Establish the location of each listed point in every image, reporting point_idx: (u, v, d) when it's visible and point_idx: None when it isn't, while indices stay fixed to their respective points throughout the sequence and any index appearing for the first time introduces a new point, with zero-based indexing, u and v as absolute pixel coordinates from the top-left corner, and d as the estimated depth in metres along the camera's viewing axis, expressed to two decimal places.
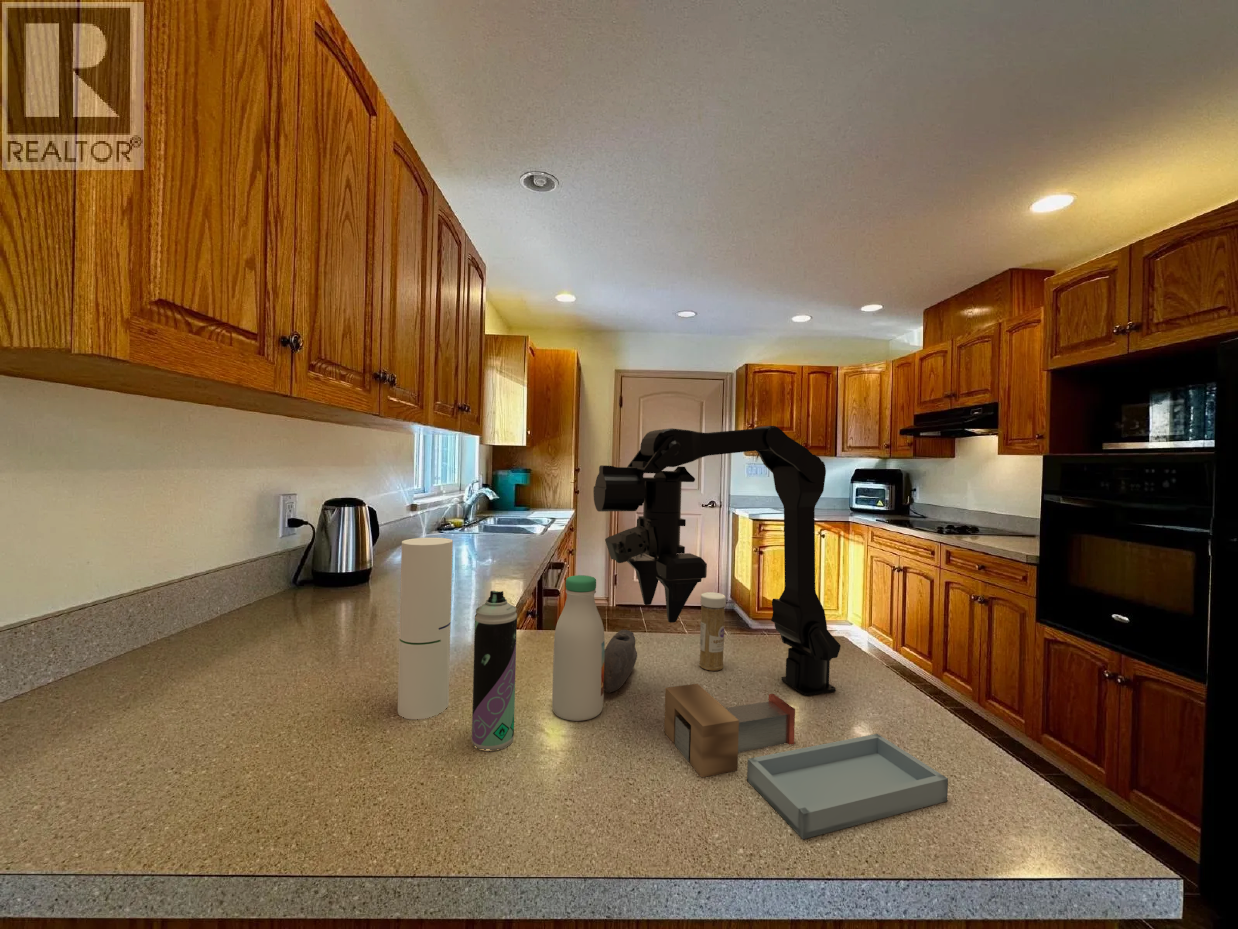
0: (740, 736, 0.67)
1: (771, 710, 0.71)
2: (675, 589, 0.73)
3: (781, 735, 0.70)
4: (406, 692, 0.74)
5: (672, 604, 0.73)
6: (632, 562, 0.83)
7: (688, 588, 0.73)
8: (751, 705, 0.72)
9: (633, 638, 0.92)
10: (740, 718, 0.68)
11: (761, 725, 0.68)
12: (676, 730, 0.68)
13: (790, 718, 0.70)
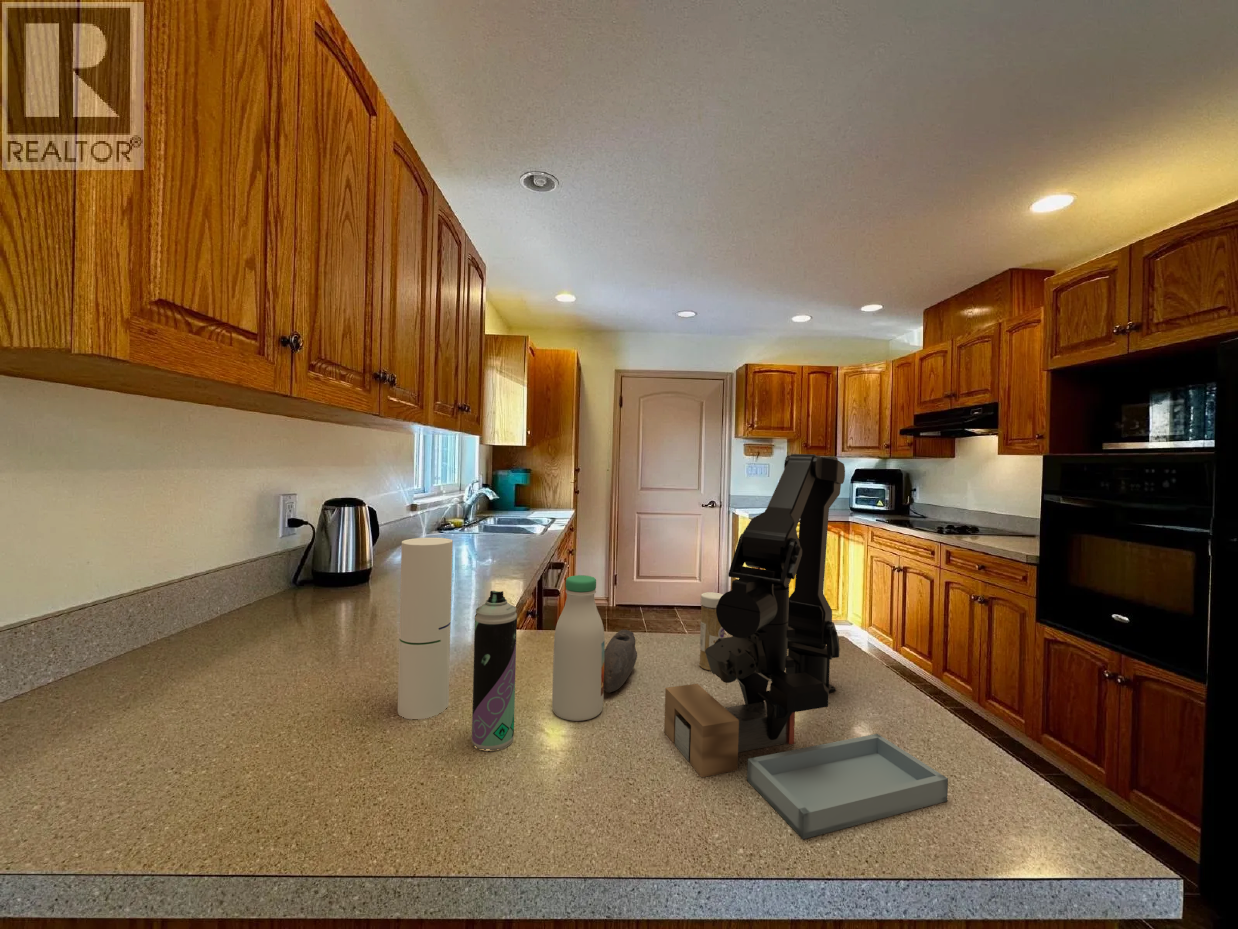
0: (740, 736, 0.67)
1: None
2: (778, 705, 0.68)
3: (781, 734, 0.70)
4: (406, 692, 0.74)
5: (774, 721, 0.68)
6: None
7: None
8: (751, 704, 0.72)
9: (633, 638, 0.92)
10: (741, 717, 0.68)
11: (761, 725, 0.68)
12: (676, 729, 0.68)
13: (790, 717, 0.70)
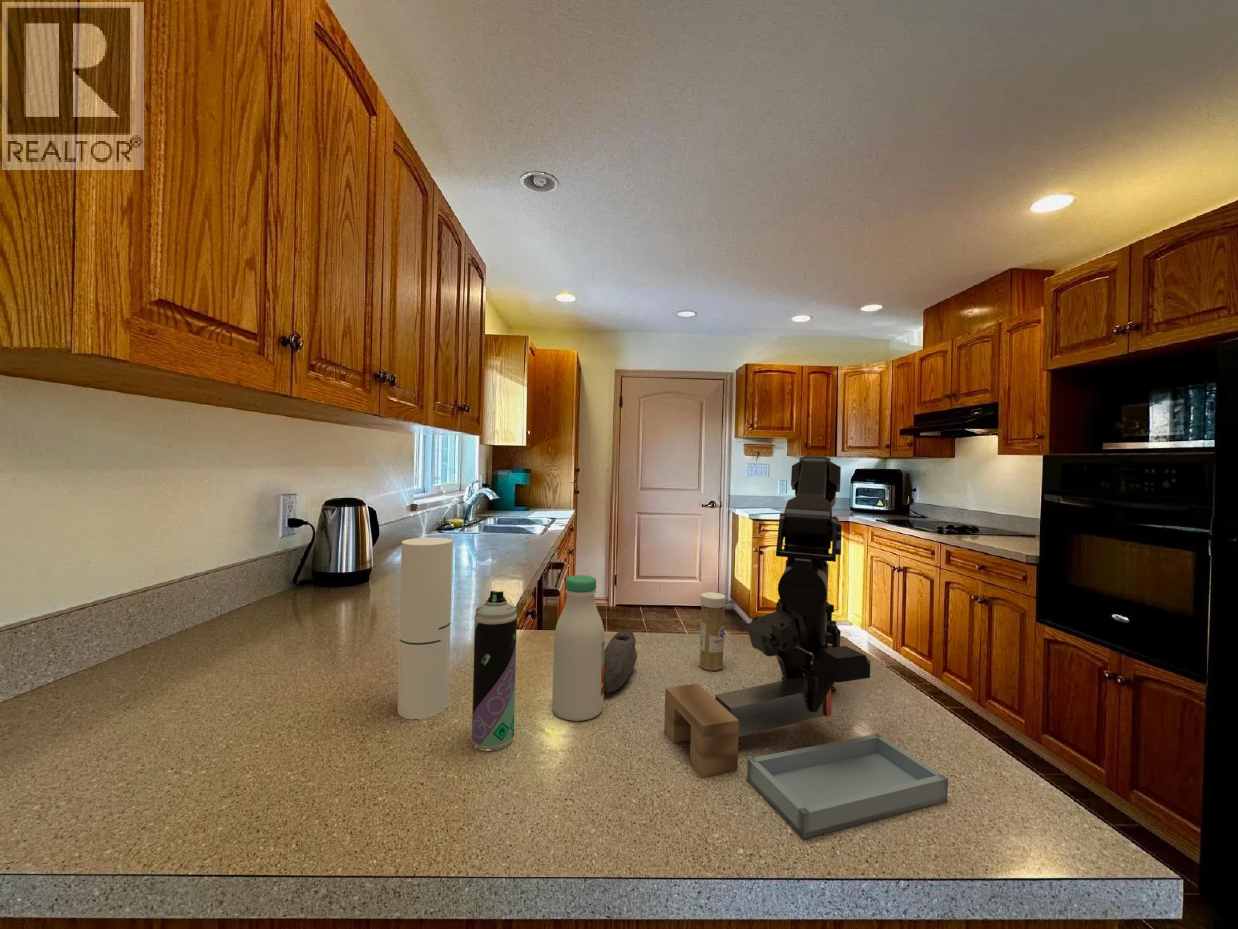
0: (779, 711, 0.69)
1: (807, 685, 0.73)
2: (819, 678, 0.70)
3: None
4: (406, 692, 0.74)
5: (815, 694, 0.70)
6: None
7: None
8: (787, 680, 0.74)
9: (633, 638, 0.92)
10: (779, 694, 0.70)
11: (799, 700, 0.70)
12: None
13: None
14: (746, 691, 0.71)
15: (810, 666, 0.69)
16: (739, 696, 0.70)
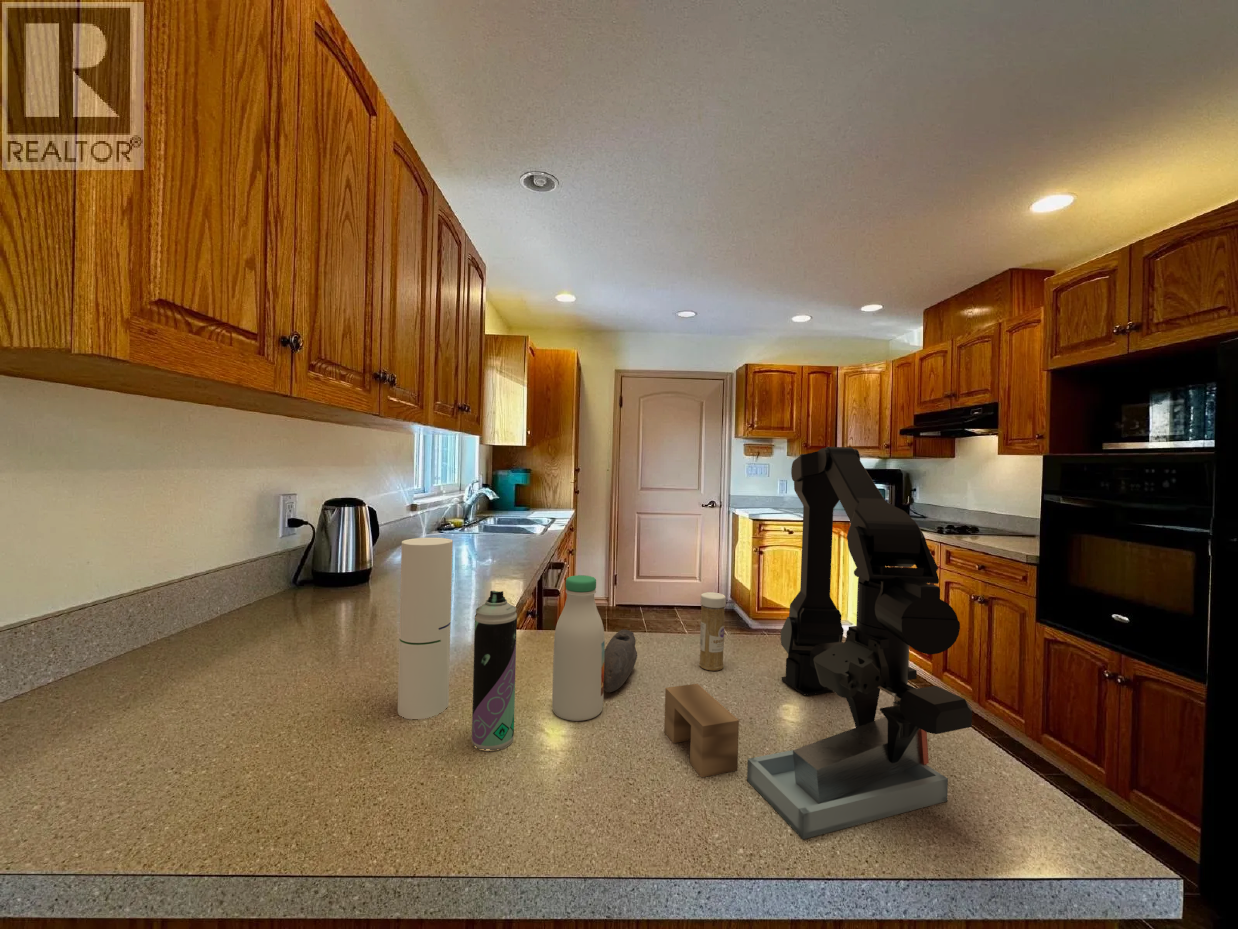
0: (870, 765, 0.59)
1: None
2: (902, 724, 0.58)
3: (914, 755, 0.61)
4: (406, 692, 0.74)
5: (898, 742, 0.58)
6: None
7: None
8: (872, 723, 0.64)
9: (633, 638, 0.92)
10: (867, 744, 0.60)
11: None
12: (796, 766, 0.60)
13: (922, 735, 0.61)
14: (828, 742, 0.61)
15: (892, 709, 0.58)
16: (821, 751, 0.59)
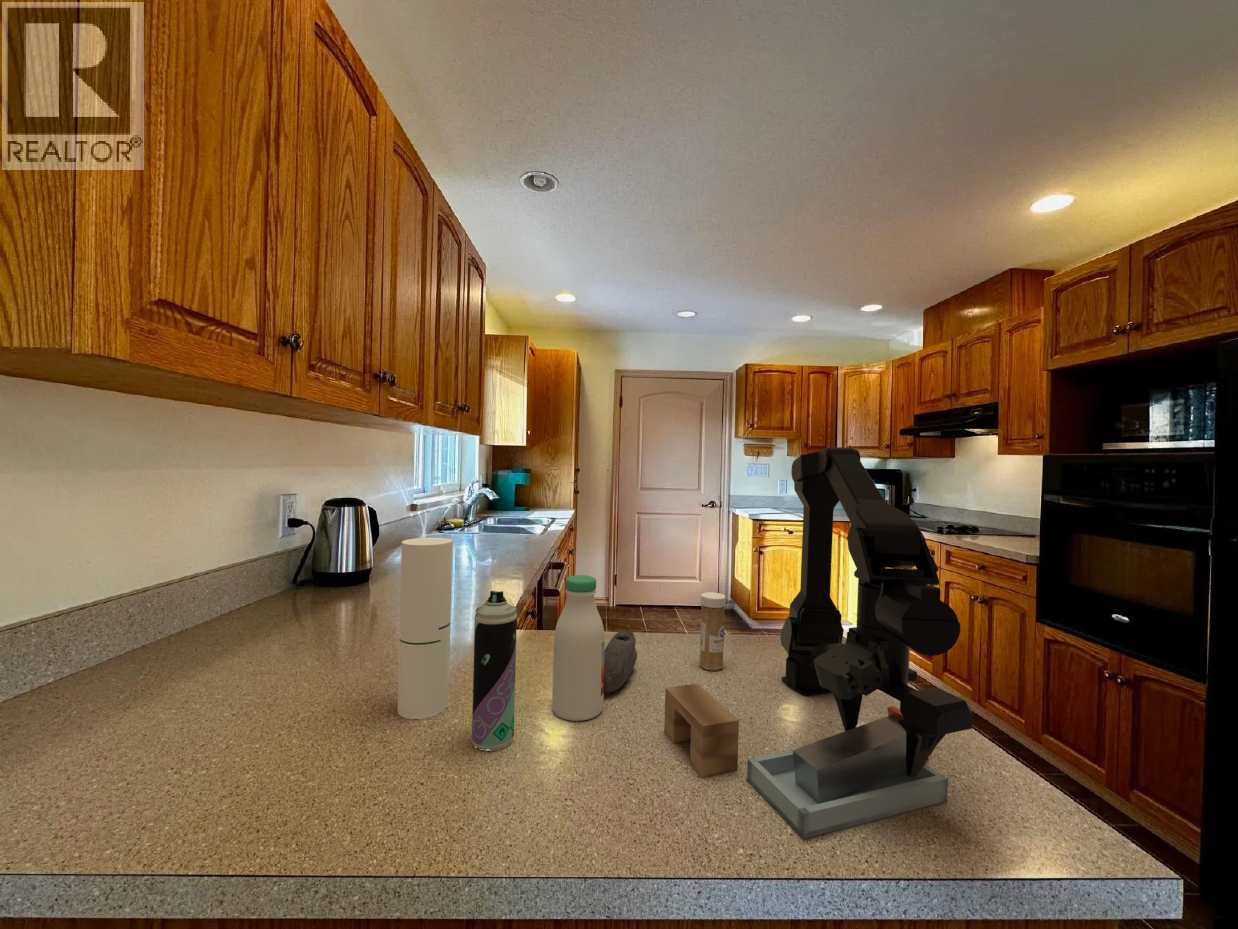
0: (870, 765, 0.59)
1: (897, 728, 0.62)
2: (921, 736, 0.56)
3: None
4: (406, 692, 0.74)
5: (917, 756, 0.56)
6: None
7: None
8: (872, 723, 0.64)
9: (633, 638, 0.92)
10: (867, 743, 0.60)
11: (892, 749, 0.60)
12: (796, 766, 0.60)
13: None
14: (828, 742, 0.61)
15: None
16: (821, 750, 0.59)
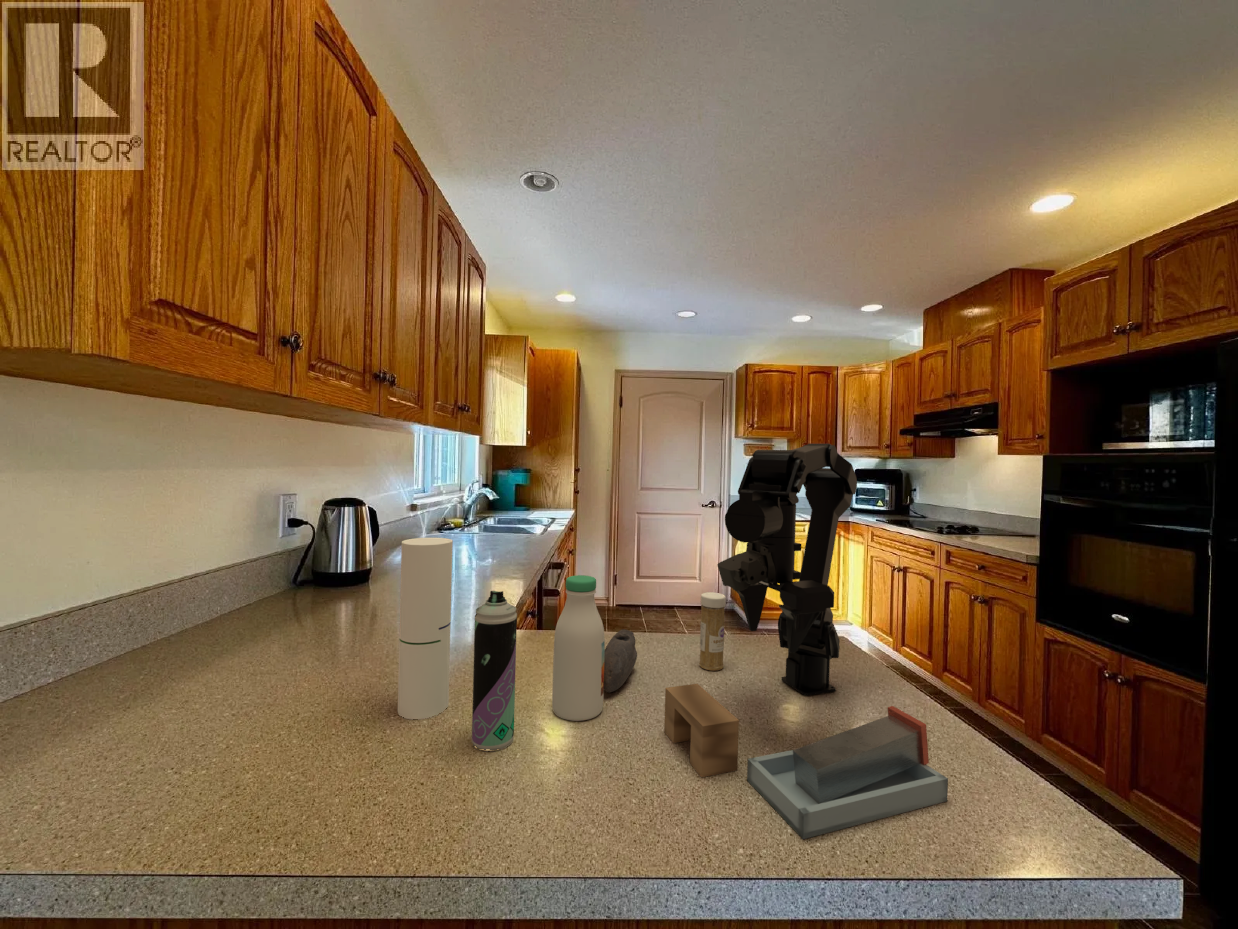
0: (870, 765, 0.59)
1: (897, 728, 0.62)
2: (798, 618, 0.70)
3: (914, 755, 0.61)
4: (406, 692, 0.74)
5: (794, 634, 0.70)
6: None
7: (811, 617, 0.70)
8: (872, 723, 0.64)
9: (633, 638, 0.92)
10: (867, 743, 0.60)
11: (892, 749, 0.60)
12: (796, 766, 0.60)
13: (922, 735, 0.61)
14: (828, 742, 0.61)
15: None
16: (821, 750, 0.59)
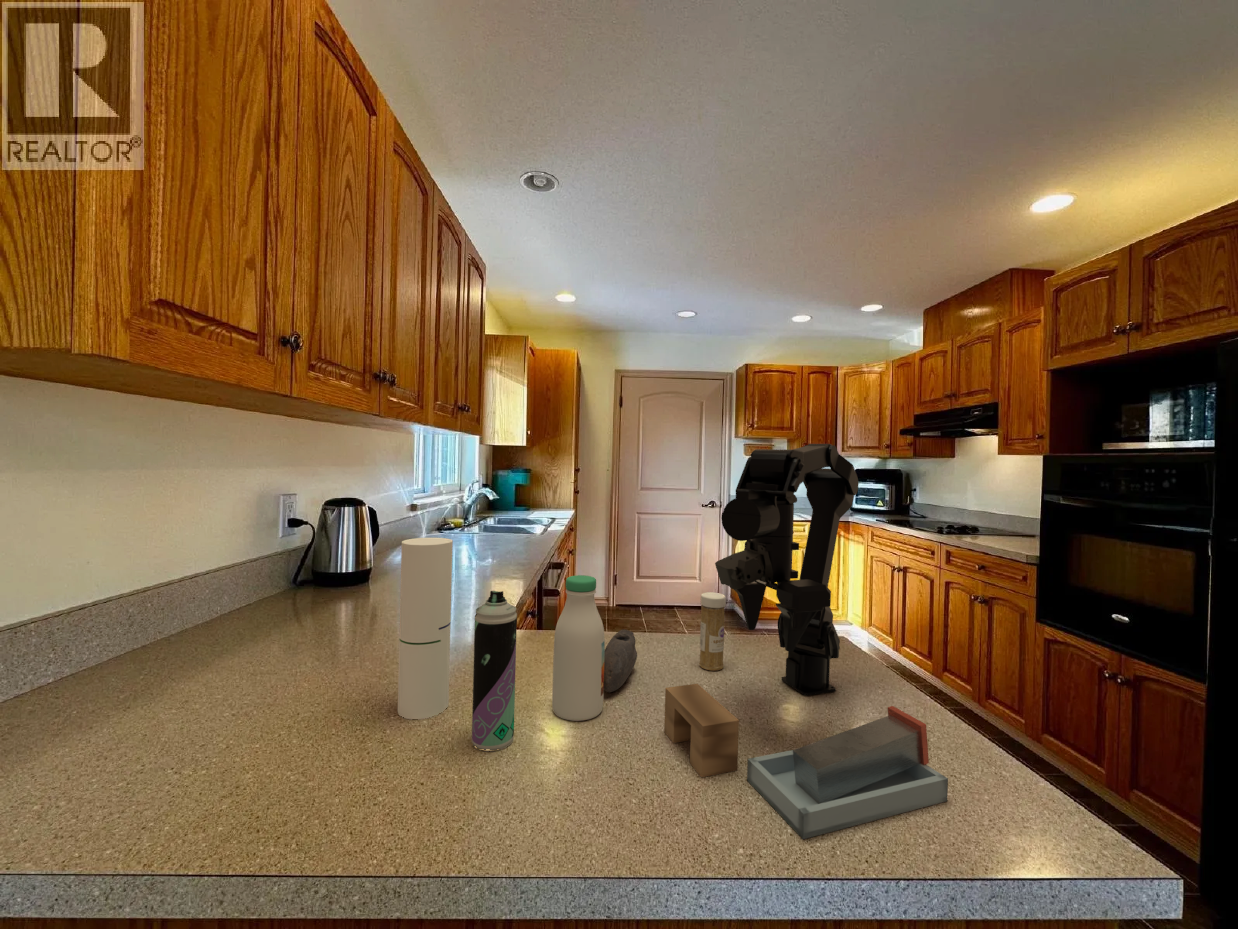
0: (870, 765, 0.59)
1: (897, 728, 0.62)
2: (795, 617, 0.70)
3: (914, 755, 0.61)
4: (406, 692, 0.74)
5: (791, 632, 0.70)
6: None
7: (808, 616, 0.70)
8: (872, 723, 0.64)
9: (633, 638, 0.92)
10: (867, 743, 0.60)
11: (892, 749, 0.60)
12: (796, 766, 0.60)
13: (922, 735, 0.61)
14: (828, 742, 0.61)
15: None
16: (821, 750, 0.59)
